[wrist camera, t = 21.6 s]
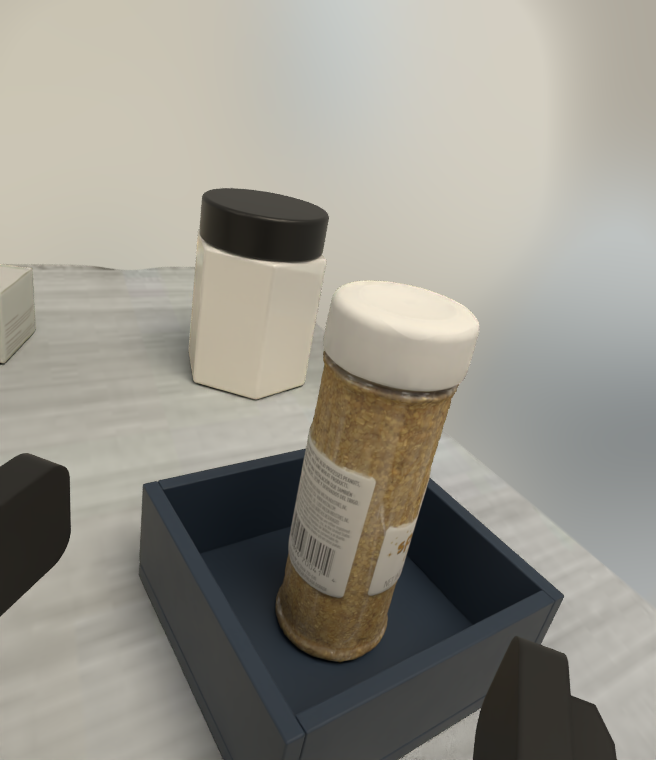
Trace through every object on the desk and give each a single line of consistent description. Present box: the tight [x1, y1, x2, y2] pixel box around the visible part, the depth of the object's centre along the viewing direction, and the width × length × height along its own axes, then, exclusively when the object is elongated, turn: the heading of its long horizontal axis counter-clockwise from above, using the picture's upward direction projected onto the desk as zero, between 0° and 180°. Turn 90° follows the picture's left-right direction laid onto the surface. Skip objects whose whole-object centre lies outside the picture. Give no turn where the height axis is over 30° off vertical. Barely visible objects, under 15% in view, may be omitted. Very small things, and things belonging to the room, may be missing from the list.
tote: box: [139, 449, 564, 760], centre depth 23 cm, size 12×11×5 cm
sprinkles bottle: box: [275, 281, 479, 662], centre depth 21 cm, size 5×5×14 cm
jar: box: [188, 188, 329, 399], centre depth 41 cm, size 9×8×12 cm
